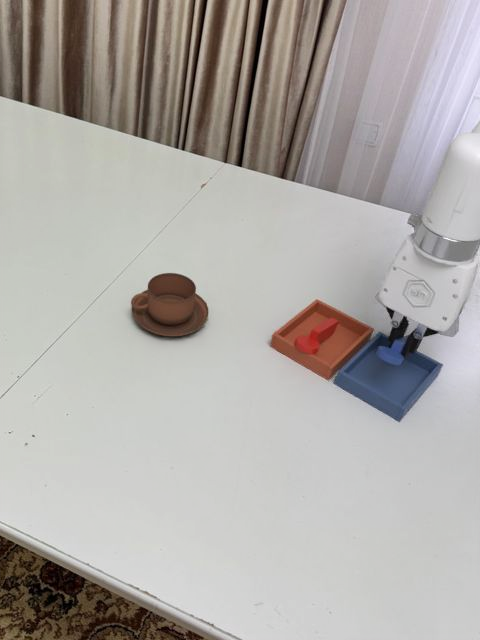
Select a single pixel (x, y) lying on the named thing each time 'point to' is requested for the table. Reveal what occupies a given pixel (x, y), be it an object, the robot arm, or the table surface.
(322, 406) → the table surface
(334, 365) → the terracotta tray
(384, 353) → the blue spoon
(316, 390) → the table surface
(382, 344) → the slate tray
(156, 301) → the cup and saucer
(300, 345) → the red spoon
